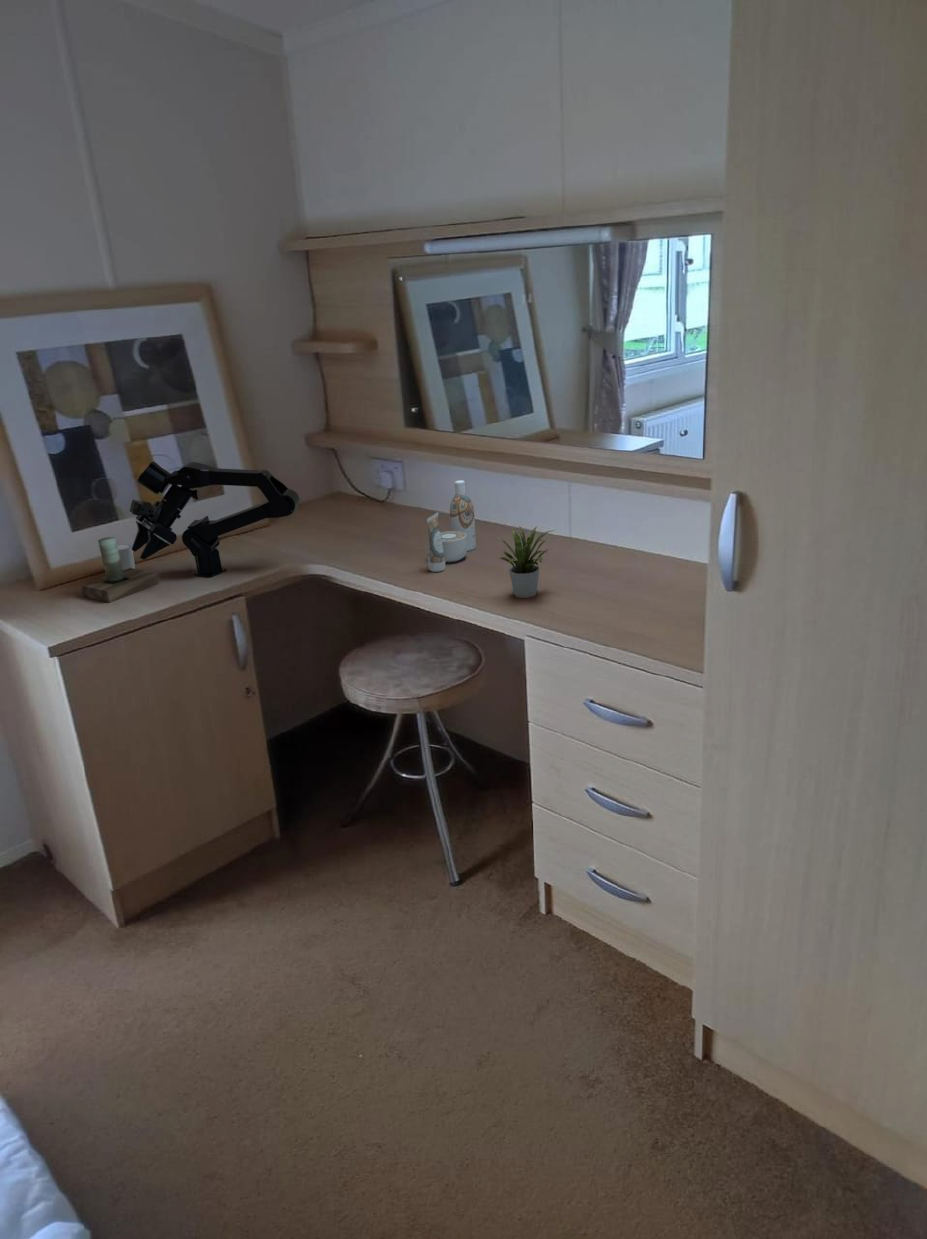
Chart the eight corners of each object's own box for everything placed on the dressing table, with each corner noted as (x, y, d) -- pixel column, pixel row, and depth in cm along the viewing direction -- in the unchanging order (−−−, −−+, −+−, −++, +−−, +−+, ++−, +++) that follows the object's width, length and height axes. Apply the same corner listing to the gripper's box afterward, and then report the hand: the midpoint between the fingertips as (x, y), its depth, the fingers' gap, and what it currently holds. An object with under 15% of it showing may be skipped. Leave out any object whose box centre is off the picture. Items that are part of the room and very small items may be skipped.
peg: (131, 589, 230) (119, 538, 225) (116, 595, 227) (104, 542, 222) (120, 587, 233) (108, 536, 228) (106, 592, 229) (94, 541, 224)
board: (158, 583, 233) (156, 573, 232) (109, 602, 222) (107, 591, 221) (132, 578, 239) (130, 567, 238) (83, 596, 228) (80, 585, 227)
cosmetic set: (448, 575, 224) (442, 503, 217) (415, 573, 227) (408, 501, 220) (484, 546, 245) (480, 479, 238) (453, 544, 248) (448, 478, 241)
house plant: (573, 592, 206) (572, 524, 200) (534, 609, 198) (531, 539, 191) (528, 580, 216) (525, 515, 210) (488, 596, 207) (484, 529, 201)
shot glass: (110, 577, 242) (104, 552, 239) (112, 569, 248) (107, 545, 245) (136, 573, 243) (131, 549, 241) (138, 566, 249) (133, 542, 247)
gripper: (136, 481, 234) (102, 530, 232) (154, 493, 219) (118, 546, 218) (172, 505, 240) (138, 552, 239) (192, 518, 225) (156, 569, 224)
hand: (137, 554), depth 230 cm, fingers open, 9 cm apart
